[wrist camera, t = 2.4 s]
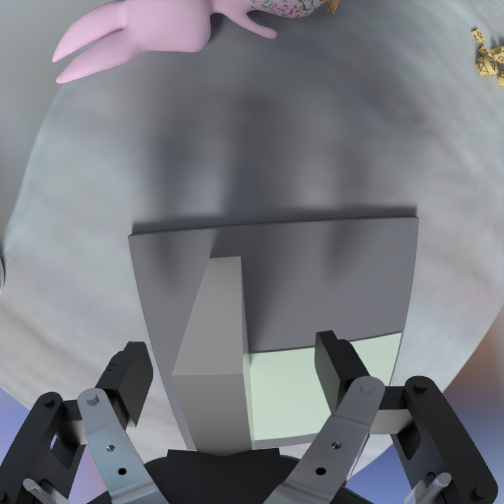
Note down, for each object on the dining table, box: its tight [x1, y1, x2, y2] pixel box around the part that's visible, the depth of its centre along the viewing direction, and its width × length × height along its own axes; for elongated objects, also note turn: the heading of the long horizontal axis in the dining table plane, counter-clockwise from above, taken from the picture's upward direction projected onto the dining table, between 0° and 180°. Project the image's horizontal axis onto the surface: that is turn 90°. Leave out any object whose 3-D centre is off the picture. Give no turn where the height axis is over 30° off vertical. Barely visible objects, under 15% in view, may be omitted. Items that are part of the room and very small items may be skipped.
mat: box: [128, 216, 419, 450], centre depth 17 cm, size 18×16×1 cm
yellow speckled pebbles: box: [472, 29, 504, 88], centre depth 11 cm, size 5×5×2 cm
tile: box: [172, 256, 255, 456], centre depth 11 cm, size 7×2×9 cm, turn 3°
